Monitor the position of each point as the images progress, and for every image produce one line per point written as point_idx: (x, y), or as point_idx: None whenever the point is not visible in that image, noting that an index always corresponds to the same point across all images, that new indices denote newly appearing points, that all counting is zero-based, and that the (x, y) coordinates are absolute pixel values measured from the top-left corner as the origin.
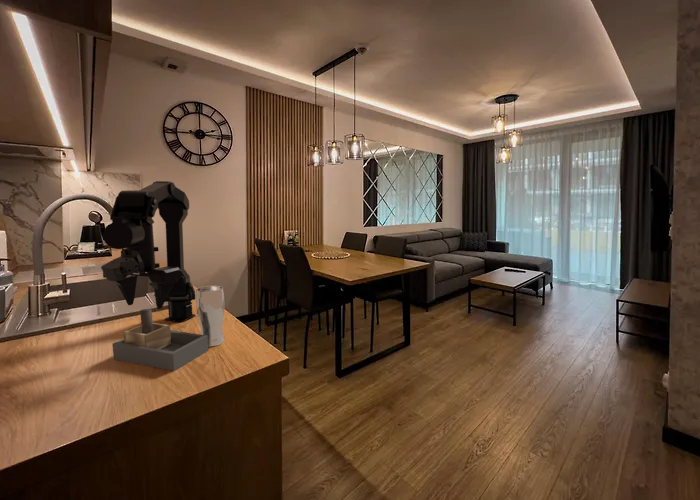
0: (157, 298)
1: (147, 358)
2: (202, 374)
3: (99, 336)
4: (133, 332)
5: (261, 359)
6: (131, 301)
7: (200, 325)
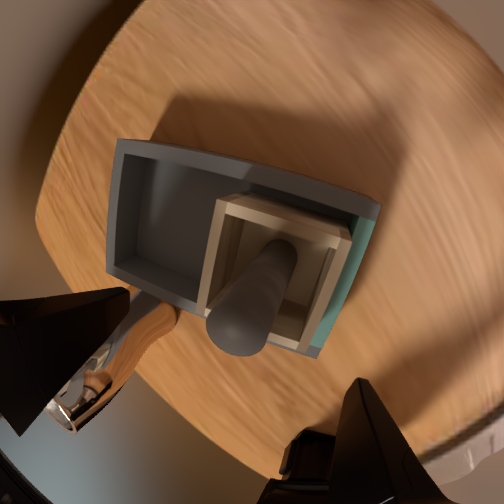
0: (60, 299)
1: (219, 154)
2: (96, 141)
3: (478, 353)
4: (298, 233)
5: (49, 217)
6: (348, 404)
7: (131, 321)
